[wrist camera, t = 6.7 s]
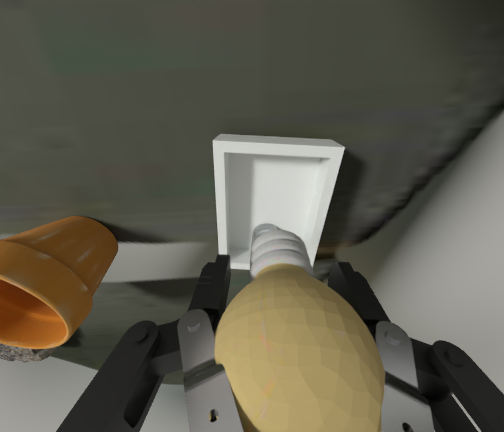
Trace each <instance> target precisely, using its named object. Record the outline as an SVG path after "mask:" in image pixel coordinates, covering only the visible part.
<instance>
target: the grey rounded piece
mask: <svg viewBox="0 0 504 432" xmlns="http://www.w3.org/2000/svg"><path fill="white" fill-rule="evenodd" d="M273 230H280V229H279V228H278V227H277V226H275V225H273V224H270V223H264V224H260V225H258V226H257V227H256V228H255V229H254V230H253V232H252V243H251V248H252V245H253V243H254V242H255V240H256V239H257V238H258V237H259V236H261V235H262V234H264V233H266V232H270V231H273Z"/></svg>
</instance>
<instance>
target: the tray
mask: <svg viewBox="0 0 504 432" xmlns="http://www.w3.org/2000/svg"><path fill="white" fill-rule="evenodd" d="M344 149H345V147H343V146H342V145H340V144H338V143H336V142H335V141H333V140H329V139H310V138H290V137H271V136H252V135H233V134H220V135H219V136H217V137H216V138H215V139H214V140H213V154H214V172H215V190H216V208H217V226H218V244H219V254H225V255H230V265H231V268H233V269H248V270H250V259H251V256H250V254H251V243H252V232H253V230H254V229H255V228H256V227H257V226H258V225H260V224H264V223H270V224H273V225H275V226H277V227H278V228H279V229H280V230H286V231H289V232H292V233H294V234H296V235H297V236H299V237H300V238H301V239H302V241H303V242H304V244H305V246H306V250H307V253H308V256H309V259H310V264H311V266H313V263H314V259H315V255H316V252H317V248H318V244H319V241H320V237H321V233H322V230H323V226H324V222H325V219H326V215H327V211H328V208H329V204H330V200H331V197H332V193H333V189H334V186H335V182H336V178H337V175H338V171H339V167H340V164H341V160H342V156H343V153H344Z"/></svg>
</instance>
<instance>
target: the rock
mask: <svg viewBox="0 0 504 432" xmlns="http://www.w3.org/2000/svg"><path fill="white" fill-rule="evenodd" d="M57 348H58V346H57V347H54V348H47V349H29V348H22V347H16V346H11V345H6V344H2V343H0V358H1V359H4V360H8V361H14V360H21V361H23V362H27V361H41V360H43V359H45V358H48V357H49V356H50V355H51V354H52V353H53V352H54V351H55V350H56V349H57Z"/></svg>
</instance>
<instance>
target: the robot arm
mask: <svg viewBox="0 0 504 432" xmlns="http://www.w3.org/2000/svg"><path fill="white" fill-rule="evenodd" d="M230 276H231V265H230V255H225V254H218V255H217V259H216V262H215V263H209V262H208V263H207V264H206V265H205V267H204V268H203V269H202V272H201V275H200V278H199V280H198V284H197V286H196V289H195V292H194V295H193V298H192V301H191V304H190V306H189V309H188V311H187V312H186V313H185V314H184V315H183V316H182V317H181V318H180V319H178V320H176V321H174V322H171V323H167V324H163V325H159V326H157V325H156V324H155V323H154V322H152V321H141V322H138V323H136V324H135V325H133V326H132V327H130V328H129V329H128V330H127V332H126V333H125V334H124V336H123V337H122V338H121V340H120V341H119V343H118V344H117V345H116V347H115V348H114V350H113V351H112V353H111V354H110V355H109V357H108V358H107V360H106V361H105V363H104V364H103V365H102V367H101V368H100V370H99V371H98V373H97V374H96V375H95V377H94V378H93V380H92V381H91V383H90V384H89V385H88V387H87V388H86V390H85V391H84V393H83V394H82V395H81V397H80V398H79V400H78V401H77V402H76V404H75V405H74V407H73V408H72V410H71V411H70V412H69V414H68V415H67V417H66V418H65V420H64V421H63V423H62V424H61V425H60V427H59V428H58V430H57V431H56V432H139V431H140V429H141V427H142V425H143V422H144V420H145V418H146V416H147V414H148V411H149V409H150V407H151V405H152V403H153V400H154V398H155V396H156V393H157V391H158V389H159V387H160V385H161V383H162V380H163V378H164V376H165V374H167V373H170V372H173V371H177V370H180V369H183V373H184V389H185V397H186V404H187V412H188V419H189V426H190V432H243V428H242V425H241V421H240V418H239V414H238V411H237V408H236V404H235V401H234V397H233V394H232V390H231V387H230V383H229V380H228V377H227V374H226V371H225V368H224V366H223V365H222V364H221V363H216V361H215V352H214V351H215V337H214V334H215V331H216V328H217V326H218V324H219V322H220V319H221V317H222V315H223V313H224V312H225V308H226V302H227V296H228V290H229V285H230ZM328 287H330V288H331V289H332V290H334V291H335V292H336V293H338V294H339V295H340V296H341V297H342V298H343V299H344V300H345V301H347V302H348V303H349V304H350V305H351V306H352V308H353V309H354V310H355V311H356V313H357V314H358V315H359V317H360V318H361V319H362V321H363V322H364V323H365V325H366V326H367V328H368V330H369V332H370V333H371V335H372V337H373V339H374V341H375V344H376V346H377V348H378V351H379V354H380V357H381V360H382V364H383V367H384V371H385V383H384V398H383V403H382V408H381V413H380V419H379V425H378V429H377V432H434V430H435V432H478V431H477V430H476V428H475V427H474V425H473V424H472V423H471V421H470V420H469V419H468V417H467V416H466V414H465V413H464V412H463V410H462V409H461V408H460V406H459V405H458V404H457V402H456V401H455V399H454V398H453V397H452V394H453V393H454V395H455V396H456V397H457V399H458V400H459V401H460V403H461V404H462V405H463V407H464V408H465V409H466V411H467V412H468V414H469V415H470V416H471V418H472V419H473V420H474V422H475V423H476V424H477V426H478V427H479V428H480V430H481V432H504V394H503V393H502V392H501V391H500V390H499V389H498V388H497V387H496V385H495V384H494V383H493V382H492V381H491V380H490V379H489V378H488V377H487V376H486V375H485V373H484V372H482V370H481V369H480V368H479V367H478V366H477V365H476V363H475V362H473V360H472V359H471V358H470V357H469V356H468V355H467V354H466V353H465V352H464V351H463V350H461V349H460V348H459V347H457V346H455V345H453V344H451V343H449V342H446V341H442V340H441V341H440V340H439V341H436V342H435V343H434V344H433V345H429V344H426V343H423V342H421V341H418V340H415V339H412V338H410V337H408V335H407V334H406V332H405V331H404V330H402V329H401V328H400V327H399V326H397V325H396V324H394V323H391V321H390V320H389V318H388V317H387V315H386V313H385V311H384V310H383V308H382V306H381V304H380V303H379V301H378V299H377V298H376V296H375V295H374V292H373V291H372V289H371V288H370V286H369V284H368V282H367V280H366V279H365V278H364V277H363V276H362V275H361V274H360V273H359V272H354V270H353V268H352V267H351V265H350V263H348V262H334V264H333V266H332V269H331V272H330V275H329V278H328ZM216 416H217V417H218V419H217V418H216Z"/></svg>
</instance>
